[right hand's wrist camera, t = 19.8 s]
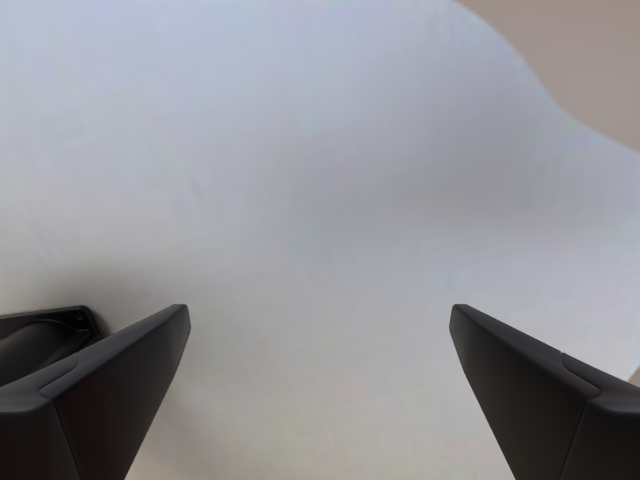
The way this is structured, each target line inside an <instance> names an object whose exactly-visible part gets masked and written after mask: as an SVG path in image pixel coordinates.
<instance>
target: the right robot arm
mask: <svg viewBox="0 0 640 480" xmlns="http://www.w3.org/2000/svg"><path fill="white" fill-rule="evenodd" d="M79 312H80V313H82V315H81V314H80V313H79ZM190 330H191V324H190V318H189V311H188V307H187V305H185V304H173V305H171V306H169V307H167V308H165V309H163V310H161V311H159V312H157V313H155V314H153V315H151V316H149V317H147V318H145V319H143V320H141V321H139V322H137V323H135V324H133V325H131V326H129V327H127V328H125V329H123V330H121V331H119V332H117V333H115V334H113V335H111V336H109V337H107V338H105V339H103V337H102V335H101V333H100V331H99V329H98V326H97V324H96V322H95V320H94V317H93V315H92V313H91V311H90V309H89V308H87V307H86V306H83V305H79V306H72V307H65V308H57V309H50V310H43V311H35V312H28V313H21V314H14V315H6V316H0V480H124V479H125V477H126V475H127V473H128V471H129V469H130V467H131V465H132V463H133V461H134V459H135V456H136V454H137V452H138V450H139V448H140V446H141V444H142V442H143V440H144V438H145V436H146V434H147V432H148V429H149V427H150V425H151V423H152V421H153V419H154V417H155V415H156V413H157V411H158V409H159V407H160V405H161V402H162V400H163V398H164V396H165V394H166V392H167V390H168V388H169V386H170V384H171V382H172V380H173V377H174V375H175V373H176V371H177V368H178V366H179V363H180V360H181V357H182V354H183V351H184V348H185V345H186V342H187V340H188V337H189V334H190ZM449 330H450V334H451V337H452V340H453V342H454V345H455V348H456V351H457V354H458V357H459V360H460V363H461V366H462V368H463V371H464V373H465V375H466V377H467V380H468V382H469V384H470V386H471V388H472V390H473V392H474V394H475V396H476V398H477V400H478V402H479V405H480V407H481V409H482V411H483V413H484V415H485V417H486V419H487V421H488V423H489V425H490V427H491V429H492V432H493V434H494V436H495V438H496V440H497V442H498V444H499V446H500V448H501V450H502V452H503V454H504V456H505V459H506V461H507V463H508V465H509V467H510V469H511V471H512V473H513V475H514V477H515V479H516V480H640V388H639V387H637V386H635V385H632V384H630V383H628V382H626V381H623V380H621V379H619V378H616V377H614V376H612V375H610V374H608V373H605V372H603V371H601V370H599V369H596V368H594V367H592V366H590V365H588V364H586V363H584V362H582V361H580V360H578V359H575V358H573V357H571V356H569V355H567V354H565V353H561V351H559V350H557V349H555V348H553V347H551V346H549V345H547V344H545V343H543V342H541V341H539V340H537V339H535V338H533V337H531V336H529V335H527V334H525V333H523V332H521V331H519V330H517V329H515V328H513V327H511V326H509V325H507V324H505V323H503V322H501V321H499V320H497V319H495V318H493V317H491V316H489V315H487V314H485V313H483V312H481V311H479V310H477V309H475V308H473V307H471V306H469V305H467V304H455V305H453V307H452V311H451V318H450V324H449Z"/></svg>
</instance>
